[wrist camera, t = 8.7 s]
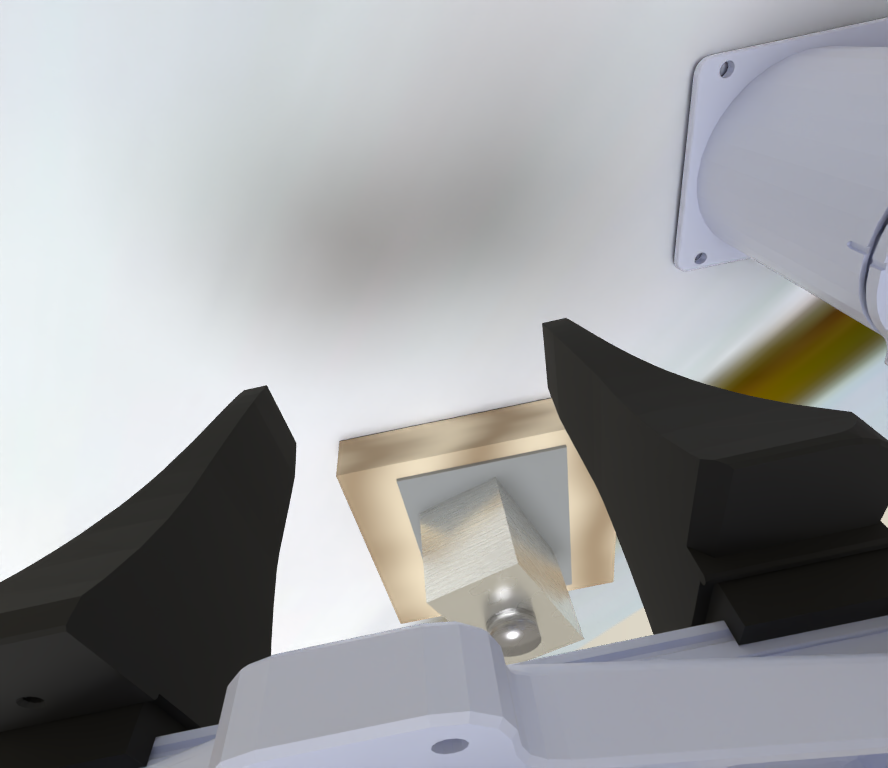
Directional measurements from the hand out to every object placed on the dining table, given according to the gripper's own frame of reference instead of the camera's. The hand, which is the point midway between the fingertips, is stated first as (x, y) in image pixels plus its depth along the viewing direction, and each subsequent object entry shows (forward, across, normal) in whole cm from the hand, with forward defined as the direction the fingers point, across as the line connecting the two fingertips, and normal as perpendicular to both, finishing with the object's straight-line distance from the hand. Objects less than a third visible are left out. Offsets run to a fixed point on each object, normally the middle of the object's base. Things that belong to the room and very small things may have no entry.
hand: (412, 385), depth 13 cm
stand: (+9, -1, +16) cm, 19 cm away
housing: (+7, -1, +16) cm, 17 cm away
